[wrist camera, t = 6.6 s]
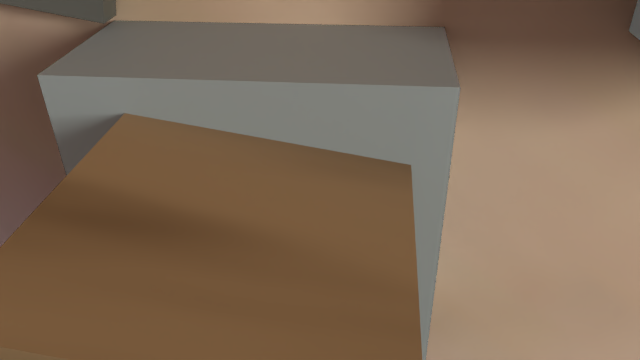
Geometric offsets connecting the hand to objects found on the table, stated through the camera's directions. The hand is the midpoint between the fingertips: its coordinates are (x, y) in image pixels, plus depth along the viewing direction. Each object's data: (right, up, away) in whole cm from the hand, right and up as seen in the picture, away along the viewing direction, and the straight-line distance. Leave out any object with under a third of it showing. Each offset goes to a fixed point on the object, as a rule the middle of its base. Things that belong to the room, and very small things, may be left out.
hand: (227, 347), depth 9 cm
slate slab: (+1, +3, +5) cm, 6 cm away
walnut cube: (0, +1, +2) cm, 2 cm away
